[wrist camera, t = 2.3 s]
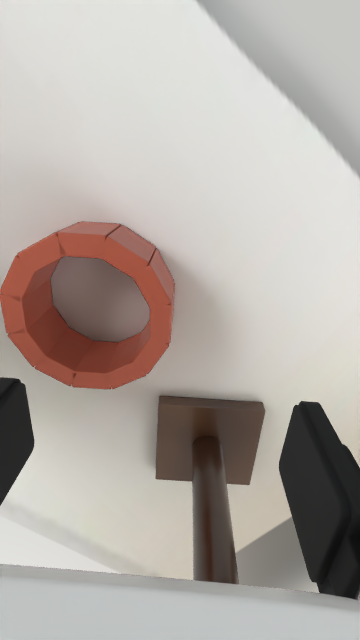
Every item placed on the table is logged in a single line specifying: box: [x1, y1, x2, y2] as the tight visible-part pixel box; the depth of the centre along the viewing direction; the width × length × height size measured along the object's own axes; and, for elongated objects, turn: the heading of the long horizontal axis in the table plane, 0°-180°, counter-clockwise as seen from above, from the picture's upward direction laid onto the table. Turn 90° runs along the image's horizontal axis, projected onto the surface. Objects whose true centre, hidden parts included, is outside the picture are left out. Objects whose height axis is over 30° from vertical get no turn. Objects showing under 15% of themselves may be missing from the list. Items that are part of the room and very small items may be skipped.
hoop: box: [0, 222, 175, 389], centre depth 20 cm, size 9×9×4 cm
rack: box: [156, 396, 265, 584], centre depth 20 cm, size 8×8×14 cm
